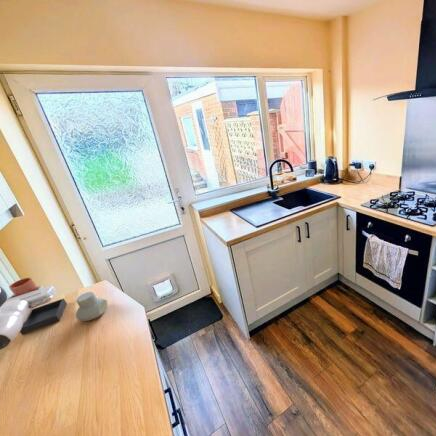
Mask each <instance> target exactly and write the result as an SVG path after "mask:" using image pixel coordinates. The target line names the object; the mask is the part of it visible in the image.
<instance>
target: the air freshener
mask: <svg viewBox="0 0 436 436" xmlns="http://www.w3.org/2000/svg"><path fill="white" fill-rule="evenodd" d="M75 302H76V303H77V305H78V308H77V310H76V313H75V317H76V319H77V320H78V321H80V322H90V321H92V320H95V319H97V318H99V317H100V316H102V315H103V314H104V313H105V312H106V310H107V308H108V301H107V299H105V298H103V297H97V296H96V295H95V293H94V292H93V291H87V292H84V293H82V294H80V295H79V296H78V297H77V298H76V300H75Z"/></svg>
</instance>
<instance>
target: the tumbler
mask: <svg viewBox="0 0 436 436" xmlns="http://www.w3.org/2000/svg"><path fill="white" fill-rule="evenodd" d="M37 287H38V286H37V284H36V283H35V281H34V280H33V279H32V277H25V278H21V279H18V280H17V281H15V282H13V283H11V284H10V285H9V286H8V288H9V290H10V291H11V292H12V295H13V294H14V295H15V296H19V295H22V294H26V293H29V292H32V291H35V290H36V288H37ZM34 308H36V307H34ZM34 308H33V309H34Z"/></svg>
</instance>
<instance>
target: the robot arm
mask: <svg viewBox="0 0 436 436" xmlns="http://www.w3.org/2000/svg"><path fill="white" fill-rule="evenodd" d="M56 295H57V289H56V288H55V286H53V285H47V286H45V287H44V286H43V285H39V286H37V288H36V290H35V291H32V292H29V293H26V294H22V295H19V296H15V295H14V294H13V293H12V294H11V295H10V296H9V297H8V294H7V292H6V291H5V290H4V288H3V287H1V286H0V350H3V349H5V348H7V347H8V346H9V345H11V343H13V341H14V340H15V339H16V338H17V337H18V335H19V333H20V330H21V329H22V327H23V324H24V323H25V322H26V320H27V319H28V317H29V315H30V314H31V312H32V309H34V307H35V308H37V307H40V306H43V305H46V304H48V303H50V301H52V300H53V299H54V297H55V296H56Z"/></svg>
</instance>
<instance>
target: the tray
mask: <svg viewBox="0 0 436 436" xmlns="http://www.w3.org/2000/svg"><path fill="white" fill-rule="evenodd" d="M67 305H68V303H67V301H66V300H65V298H61V299H57V300H55V301H52V302H48V303H45V304H43V305H40V306H37V307H35V308H32V312H31V314H30V315H29V317H28V319H27V320H26V322H25V323H24V324H23V327H22V329H21V330H20V332H19V333H20V334H21V335H22V336H23V335H26V334H28V333H32V332H34V331H36V330H40V329H42V328H44V327H47V326H50V325H52V324H55V323H58V322H60V321H61V319H62V317H63V314H64V312H65V309H66V307H67Z"/></svg>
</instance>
